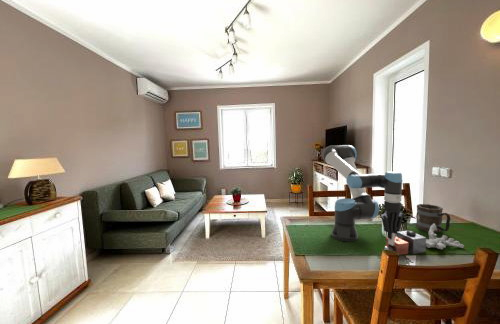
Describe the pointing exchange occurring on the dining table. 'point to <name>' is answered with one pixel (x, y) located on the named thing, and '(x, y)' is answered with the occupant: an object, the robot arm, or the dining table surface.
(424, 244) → the hitch
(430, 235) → the white irregular jagged piece
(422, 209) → the mug
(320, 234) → the dining table surface
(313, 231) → the dining table surface
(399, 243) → the red notched block
